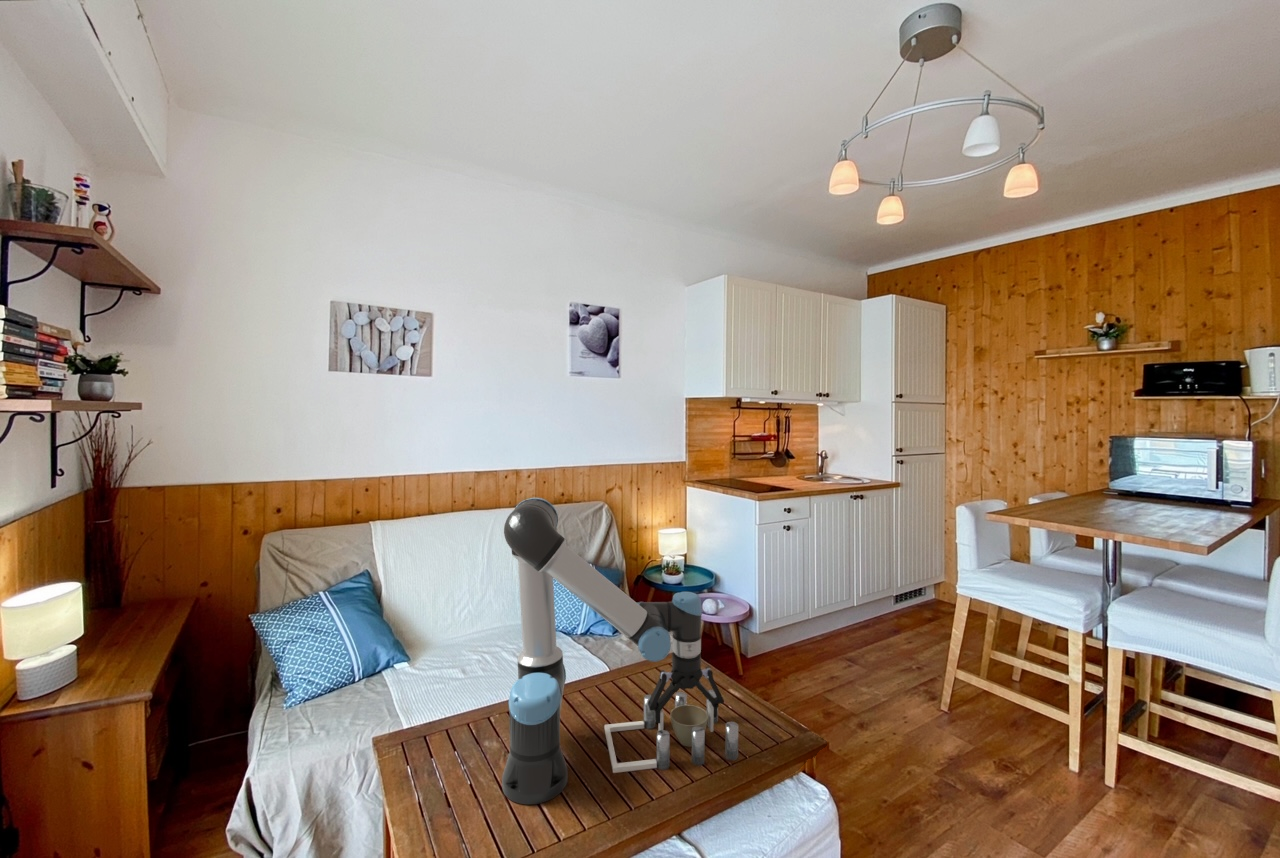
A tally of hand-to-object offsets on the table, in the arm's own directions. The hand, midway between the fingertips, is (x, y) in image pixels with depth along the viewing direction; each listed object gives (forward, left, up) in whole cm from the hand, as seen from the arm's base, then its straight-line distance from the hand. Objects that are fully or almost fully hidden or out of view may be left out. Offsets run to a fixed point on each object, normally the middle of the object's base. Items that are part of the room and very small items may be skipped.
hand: (685, 731), depth 143 cm
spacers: (+1, 0, -3) cm, 3 cm away
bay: (-15, 0, -3) cm, 15 cm away
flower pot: (+1, 0, -3) cm, 3 cm away
